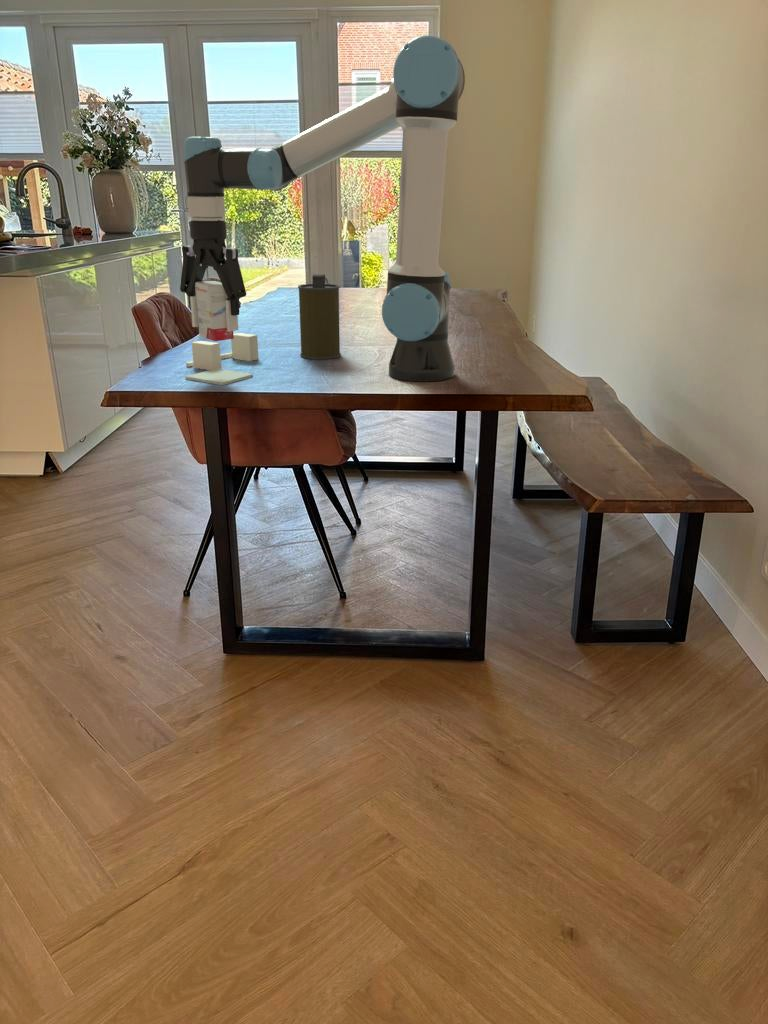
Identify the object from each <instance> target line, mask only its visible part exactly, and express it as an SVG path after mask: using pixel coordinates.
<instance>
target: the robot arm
mask: <svg viewBox="0 0 768 1024" xmlns="http://www.w3.org/2000/svg"><path fill="white" fill-rule="evenodd" d="M392 73H393V75H392V76H393V77H392V78H391V80H390V81H391V82H390V84H389V86H388V87H386V88H384V89H382V90H380V91H378V92H376V93H374V94H373V95H371V96H369V97H367V98H365V99H363V100H361V101H360V102H358V103H355V104H354V105H352V106H350V107H348V108H346V109H344V110H342V111H340V112H339V113H337V114H334V115H333V116H331V117H329V118H326V119H325V120H323V121H322V122H320V123H318V124H316V125H314V126H312V127H310V128H308V129H307V130H305V131H302V132H301V133H299V134H297V135H295V136H293V137H291V138H289V139H287V140H286V141H283V142H282V143H280V144H278V145H276V146H274V147H272V148H265V147H256V148H255V147H254V148H249V147H248V148H226V147H223V146H222V141H221V140H220V138H218V137H214V136H189V137H186V138H185V140H184V143H183V163H184V171H185V182H186V183H185V184H186V191H187V192H186V196H187V208H188V212H187V213H188V217H189V218H191V220H190V221H189V222H188V223H189V235H190V239H191V240H193V243H192V245H183V246H182V247H181V251H182V265H181V266H182V267H181V277H180V287H179V289H180V292H181V293H184V294H186V296H187V297H188V308H189V311H190V313H191V314H190V315H191V326H192V327H193V328H199V325H198V314H197V303H196V292H195V282H201V281H204V276H205V274H206V270H207V269H208V268H209V267H212V268H213V271H215V272H216V273H217V277H219V282H221V283H222V285H223V287H224V290H225V292H226V294H227V296H228V298H227V299H226V300H225V303H226V318H227V331H229V332H231V331H233V332H234V331H239V318H238V316H239V315H240V299H242V298H244V297H246V296H247V291H246V287H245V283H244V279H243V274H242V271H241V266H240V262H239V250H238V248H236V247H233V248H231V247H230V248H229V247H227V245H226V239H227V237H228V235H227V233H228V232H227V222H226V221H225V220H224V219H225V217H226V206H225V205H226V203H225V190H226V189H227V190H231V189H233V190H235V189H236V190H239V189H240V190H260V191H263V190H264V191H268V190H269V191H280V190H283V189H285V188H287V187H288V186H290V184H291V183H293V182H294V181H296V180H297V179H299V178H301V177H304V175H306V174H309V173H310V172H313V171H315V170H316V169H319V168H321V167H323V166H325V165H326V164H328V163H330V162H332V161H335V160H336V159H339V158H341V157H343V156H344V155H346V154H348V153H351V152H352V151H354V150H357V149H359V148H361V147H363V146H365V145H366V144H368V143H371V142H373V141H374V140H376V139H379V138H381V137H382V136H385V135H387V134H389V133H390V132H392V131H394V130H396V129H398V128H401V130H402V140H401V141H402V143H401V144H402V145H401V164H400V176H399V177H400V180H399V194H398V195H399V196H398V197H399V199H398V216H397V235H396V236H397V238H396V254H395V256H396V257H395V262H394V264H393V265H391V266H390V268H388V269H387V279H386V280H387V281H386V282H387V283H386V284H387V285H386V295H385V297H384V300H382V301H383V302H382V306H381V317H382V321H383V323H384V326H385V327H386V329H387V330H388V332H389V333H390V334H392V335H393V336H394V337H395V338H396V342H395V345H394V348H393V351H392V354H391V357H390V361H389V364H388V375H389V376H390V378H391V377H392V378H394V379H397V380H402V381H409V382H410V381H411V382H412V381H413V382H436V381H437V382H439V381H444V380H448V379H451V378H453V377H454V376H455V364H454V359H453V356H452V353H451V349H450V345H449V323H450V322H449V320H450V319H449V317H450V295H451V294H450V293H451V292H450V290H451V288H452V285H451V276H450V274H449V273H448V272H446V271H444V270H443V269H442V268H441V266H440V264H439V257H440V247H441V245H440V244H441V233H442V231H441V229H442V217H443V204H444V203H443V202H444V201H443V200H444V191H445V180H446V179H445V177H446V163H447V152H448V151H447V150H448V137H449V132H450V130H452V129H453V128H454V127H455V126H456V125H457V123H458V111H459V101H460V99H461V98H462V95H463V94H464V93H463V92H464V90H465V85H466V76H465V75H466V74H465V69H464V67H463V64H462V62H461V60H460V58H459V57H458V54H457V52H456V50H455V49H454V48H453V46H452V45H451V44H450V43H449V42H447V41H446V40H445V39H442V38H440V37H439V36H434V35H420V36H418V37H414V38H413V39H411V40H410V41H408V42H407V43H405V45H404V46H403V47H402V48H401V49H400V51H399V53H398V54H397V56H396V59H395V62H394V64H393V72H392Z"/></svg>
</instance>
